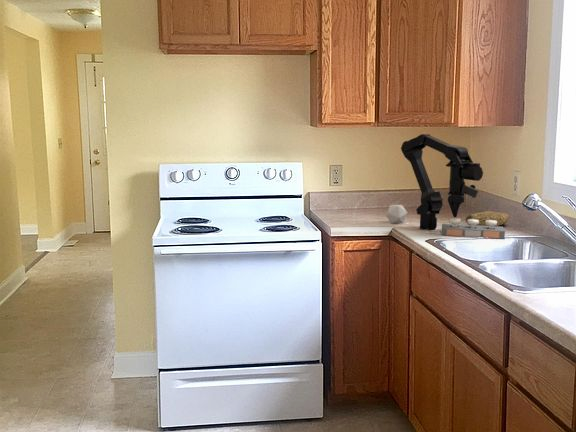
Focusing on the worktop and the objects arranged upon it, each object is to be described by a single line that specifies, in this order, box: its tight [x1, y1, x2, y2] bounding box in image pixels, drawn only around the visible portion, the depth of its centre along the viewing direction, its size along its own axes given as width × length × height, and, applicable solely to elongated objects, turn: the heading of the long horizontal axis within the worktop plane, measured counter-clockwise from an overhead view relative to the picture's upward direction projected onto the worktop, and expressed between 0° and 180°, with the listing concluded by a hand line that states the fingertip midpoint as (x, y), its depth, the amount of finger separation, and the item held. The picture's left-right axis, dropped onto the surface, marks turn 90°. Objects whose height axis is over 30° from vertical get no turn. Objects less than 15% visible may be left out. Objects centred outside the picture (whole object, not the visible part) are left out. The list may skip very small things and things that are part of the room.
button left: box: [448, 217, 462, 227], centre depth 266 cm, size 4×4×4 cm
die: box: [385, 204, 408, 225], centre depth 292 cm, size 8×9×10 cm
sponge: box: [464, 210, 510, 227], centre depth 286 cm, size 13×8×20 cm
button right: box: [485, 220, 497, 229], centre depth 263 cm, size 4×4×4 cm
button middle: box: [466, 219, 479, 228], centre depth 265 cm, size 4×4×4 cm
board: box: [440, 223, 506, 240], centre depth 265 cm, size 24×11×3 cm, turn 76°
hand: (454, 217), depth 266 cm, fingers closed
